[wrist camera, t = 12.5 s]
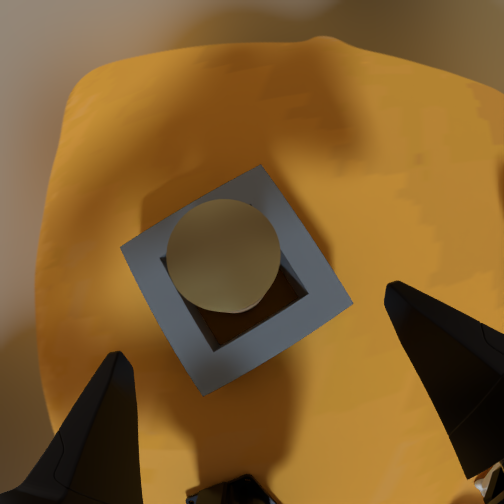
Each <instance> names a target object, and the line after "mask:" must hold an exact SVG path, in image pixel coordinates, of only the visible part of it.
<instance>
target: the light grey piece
mask: <svg viewBox="0 0 504 504" xmlns="http://www.w3.org/2000/svg"><path fill="white" fill-rule="evenodd" d="M499 466H500V463H499V462H498V463H496V464H495V465H493V467H492V468H491V470H490V471H489V472H488V473H487V475H486V476H485V478H483V479H478V480H477V481H476V482H475V487H476V488H478V489H479V490H480V492H481V494H482V496H484V497H485V494H486V491H487V488H488V485H489V482H490V479H491V475H492V472H493V471H494V470H496V469H497V468H498V467H499Z"/></svg>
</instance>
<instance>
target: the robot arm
mask: <svg viewBox="0 0 504 504" xmlns="http://www.w3.org/2000/svg"><path fill="white" fill-rule="evenodd" d="M384 305H385V308H386V311H387V313H388V315H389V317H390V320H391V322H392V324H393V326H394V329H395V331H396V333H397V336H398V338H399V340H400V342H401V344H402V346H403V348H404V350H405V352H406V353H407V355H408V357H409V359H410V361H411V362H412V364H413V366H414V368H415V370H416V372H417V374H418V375H419V377H420V379H421V381H422V383H423V385H424V387H425V389H426V391H427V393H428V395H429V397H430V399H431V401H432V403H433V405H434V407H435V409H436V411H437V413H438V415H439V417H440V419H441V421H442V423H443V425H444V427H445V430H446V432H447V434H448V435H449V439H450V441H451V443H452V445H453V448H454V450H455V452H456V455H457V457H458V459H459V462H460V464H461V466H462V469H463V471H464V474H465V476H466V478H467V480H468V479H470V478H472V477H474V476H476V475H478V474H479V473H481V472H483V471H485V470H486V469H488V468H490V467H492V466H493V465H495V464H496V463H498V462H499V463H500V466H499V467H498V468H497V469H496V470H494V471H493V472H492V475H491V479H490V482H489V485H488V488H487V491H486V494H485V497H484V503H485V504H504V334H503V333H500V332H498V331H497V330H495V329H493V328H491V327H489V326H487V325H485V324H483V323H480V322H479V321H477V320H475V319H474V318H472V317H470V316H468V315H466V314H464V313H462V312H460V311H458V310H456V309H454V308H453V307H451V306H449V305H447V304H445V303H443V302H441V301H439V300H437V299H435V298H433V297H431V296H429V295H427V294H425V293H423V292H421V291H419V290H417V289H415V288H413V287H411V286H409V285H407V284H405V283H403V282H401V281H394V282H391V283H388V284H387V286H386V292H385V298H384ZM245 479H250V481H246V480H245ZM190 500H192V501H194V502H191V501H190ZM0 504H143V498H142V488H141V477H140V463H139V445H138V413H137V401H136V392H135V382H134V372H133V367H132V365H131V364H130V362H129V361H128V360H127V358H126V357H125V356H124V354H123V353H122V352H121V351H115V352H110V353H109V354H108V355H107V356H106V358H105V359H104V361H103V362H102V364H101V365H100V366H99V368H98V369H97V371H96V372H95V374H94V375H93V377H92V378H91V380H90V381H89V383H88V384H87V386H86V387H85V389H84V390H83V392H82V394H81V395H80V397H79V398H78V400H77V401H76V403H75V404H74V406H73V408H72V409H71V411H70V412H69V414H68V416H67V417H66V419H65V420H64V422H63V424H62V425H61V427H60V428H59V431H58V432H57V433H56V435H55V437H54V438H53V440H52V441H51V443H50V445H49V446H48V448H47V449H46V451H45V452H44V454H43V455H42V456H41V458H40V459H39V461H38V462H37V464H36V465H35V467H34V468H33V469H32V471H31V472H30V474H29V475H28V476H27V478H26V479H25V480H24V482H23V483H22V484H21V485H19V486H18V487H16V488H15V489H13V490H10V491H7V492H4V493H1V494H0ZM186 504H277V503H276V502H275V501H274V500H273V499H272V498H271V497H270V495H269V494H268V493H267V492H266V491H265V490H264V489H263V488H262V486H261V485H260V484H259V483H258V482H257V481H256V479H255V478H254V477H253V476H252V475H250V474H245V475H243V476H240V477H238V478H236V479H233V480H231V481H229V482H222V483H219V484H217V485H214V486H212V487H209V488H206V489H204V490H201V491H199V493H197V494H194V495H191V496H188V497H187V498H186Z"/></svg>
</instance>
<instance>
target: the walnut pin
mask: <svg viewBox="0 0 504 504" xmlns="http://www.w3.org/2000/svg"><path fill="white" fill-rule="evenodd" d="M280 256H281V251H280V243H279V240H278V236H277V234H276V231H275V229H274V227H273V226H272V224H271V223H270V221H269V220H268V219H267V218H266V217H265V216H264V215H263V214H262V213H261V212H260V211H259V210H257V209H256V208H254V207H253V206H251V205H249V204H246V203H244V202H241V201H237V200H231V199H218V200H212V201H208V202H205V203H202V204H200V205H198V206H196V207H194V208H193V209H191V210H190V211H188V212H187V213H186V214H185V215H184V216H183V217H182V218H181V219H180V220H179V221H178V223H177V224H176V226H175V227H174V229H173V231H172V233H171V235H170V238H169V241H168V245H167V253H166V260H167V267H168V271H169V275H170V277H171V279H172V282H173V284H174V285H175V287H176V288H177V290H178V291H179V292H180V293H181V294H182V295H183V296H184V297H185V298H186V299H187V300H188V301H190V302H191V303H193V304H195V305H197V306H199V307H201V308H204V309H207V310H211V311H217V312H226V313H243V312H246V311H249V310H251V309H252V308H254V307H255V306H256V305H257V304H258V303H259V302H260V300H261V299H262V298H263V296H264V295H265V294H266V292H267V291H268V289H269V288H270V287H271V285H272V283H273V282H274V280H275V278H276V275H277V273H278V269H279V265H280Z"/></svg>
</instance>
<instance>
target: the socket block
mask: <svg viewBox="0 0 504 504" xmlns="http://www.w3.org/2000/svg"><path fill="white" fill-rule="evenodd" d="M218 199H231V200H237V201H241V202H244V203H246V204H249V205H251V206H253V207H254V208H256V209H257V210H259V211H260V212H261V213H262V214H263V215H264V216H265V217H266V218H267V219H268V220H269V221H270V223H271V224H272V226H273V227H274V229H275V231H276V234H277V236H278V240H279V243H280V251H281V256H280V265H279V268H280V269H281V271H282V272H283V274H284V275H285V277H286V279H287V280H288V282H289V283H290V285H291V286H292V288H293V290H294V291H295V293H296V294H297V296H298V298H297V299H296V300H294V301H293V302H291V303H289V304H288V305H286V306H285V307H283V308H281V309H280V310H278V311H277V312H275V313H274V314H272V315H270V316H269V317H267V318H265V319H264V320H262V321H261V322H259V323H257V324H256V325H254V326H252V327H251V328H249V329H247V330H246V331H244V332H242V333H241V334H239V335H237V336H236V337H234V338H232V339H231V340H229V341H227V342H226V343H224V344H222V345H219V343H218V342H217V340H216V338H215V337H214V335H213V334H212V332H211V330H210V329H209V327H208V325H207V324H206V322H205V320H204V319H203V317H202V315H201V314H200V312H199V310H198V308H197V307H196V305H195V304H193V303H191V302H190V301H188V300H187V299H186V298H185V297H184V296H183V295H182V294H181V293H180V292H179V291H178V290H177V288H176V287H175V285H174V284H173V282H172V279H171V277H170V275H169V271H168V267H167V260H166V253H167V245H168V241H169V238H170V235H171V233H172V231H173V229H174V227H175V226H176V224H177V223H178V221H179V220H180V219H181V218H182V217H183V216H184V215H185V214H186V213H187V212H188V211H190V210H191V209H193V208H194V207H196V206H198V205H200V204H202V203H205V202H208V201H212V200H218ZM120 248H121V251H122V253H123V255H124V257H125V259H126V261H127V263H128V266H129V268H130V270H131V272H132V274H133V276H134V278H135V280H136V282H137V284H138V286H139V288H140V290H141V292H142V294H143V296H144V298H145V300H146V301H147V303H148V305H149V307H150V309H151V311H152V313H153V315H154V316H155V318H156V320H157V322H158V324H159V325H160V327H161V329H162V331H163V333H164V334H165V336H166V338H167V340H168V341H169V343H170V345H171V346H172V348H173V350H174V351H175V353H176V355H177V356H178V358H179V360H180V361H181V363H182V365H183V366H184V368H185V369H186V371H187V373H188V374H189V376H190V377H191V379H192V381H193V382H194V384H195V385H196V387H197V388H198V390H199V391H200V393H201V394H202V396H205V395H207V394H209V393H211V392H213V391H215V390H216V389H218V388H220V387H222V386H224V385H226V384H228V383H229V382H231V381H233V380H235V379H236V378H238V377H240V376H242V375H244V374H245V373H247V372H249V371H250V370H252V369H254V368H256V367H257V366H259V365H261V364H262V363H264V362H266V361H267V360H269V359H271V358H272V357H274V356H276V355H277V354H279V353H280V352H282V351H284V350H285V349H287V348H288V347H290V346H292V345H293V344H295V343H296V342H298V341H299V340H301V339H302V338H304V337H305V336H307V335H309V334H310V333H312V332H313V331H315V330H316V329H318V328H319V327H321V326H322V325H323V324H325V323H326V322H328V321H329V320H331V319H332V318H334V317H335V316H336V315H338V314H339V313H341V312H342V311H344V310H345V309H346V308H348V307H349V306H351V305H352V304H353V302H352V300H351V298H350V297H349V295H348V294H347V292H346V290H345V289H344V287H343V286H342V284H341V282H340V281H339V279H338V278H337V276H336V274H335V273H334V271H333V270H332V268H331V267H330V265H329V263H328V262H327V260H326V259H325V257H324V256H323V254H322V253H321V251H320V249H319V248H318V246H317V245H316V243H315V242H314V240H313V239H312V237H311V236H310V234H309V233H308V231H307V230H306V228H305V227H304V225H303V224H302V222H301V221H300V219H299V218H298V216H297V215H296V214H295V212H294V211H293V209H292V208H291V206H290V205H289V203H288V202H287V200H286V199H285V198H284V196H283V195H282V193H281V192H280V190H279V189H278V188H277V186H276V185H275V183H274V182H273V180H272V179H271V178H270V176H269V175H268V173H267V172H266V171H265V169H264V168H263V167H262V165H259V166H257V167H255V168H253V169H251V170H249V171H247V172H246V173H244V174H242V175H240V176H238V177H236V178H234V179H233V180H231V181H229V182H227V183H225V184H224V185H222V186H220V187H218V188H216V189H215V190H213V191H211V192H209V193H208V194H206V195H204V196H202V197H201V198H199V199H197V200H195V201H194V202H192V203H190V204H189V205H187V206H185V207H183V208H182V209H180V210H178V211H177V212H175V213H173V214H172V215H170V216H168V217H167V218H165V219H164V220H162V221H160V222H159V223H157V224H155V225H154V226H152V227H151V228H149V229H147V230H146V231H144V232H143V233H141V234H139V235H138V236H136V237H135V238H133V239H132V240H130V241H129V242H127V243H125V244H124V245H122V246H121V247H120Z"/></svg>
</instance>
